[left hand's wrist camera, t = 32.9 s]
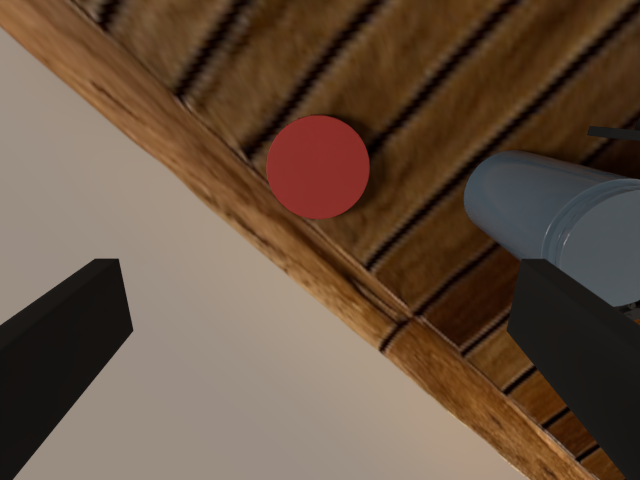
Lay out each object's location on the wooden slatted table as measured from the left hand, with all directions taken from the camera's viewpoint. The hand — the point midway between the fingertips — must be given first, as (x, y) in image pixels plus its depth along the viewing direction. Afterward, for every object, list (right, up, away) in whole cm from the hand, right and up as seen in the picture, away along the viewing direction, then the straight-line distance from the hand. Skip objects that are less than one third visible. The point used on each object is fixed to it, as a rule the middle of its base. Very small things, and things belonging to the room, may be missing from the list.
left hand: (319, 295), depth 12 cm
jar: (+19, +7, +26) cm, 33 cm away
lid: (0, +9, +24) cm, 26 cm away
